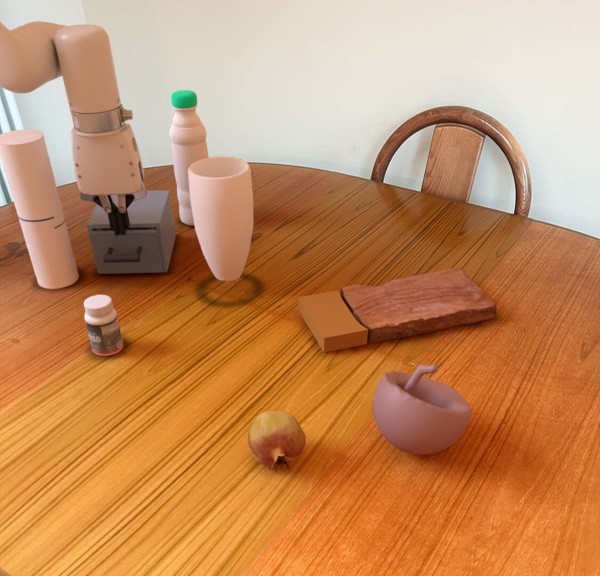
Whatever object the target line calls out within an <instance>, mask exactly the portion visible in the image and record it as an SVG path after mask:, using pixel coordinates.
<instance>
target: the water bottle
mask: <svg viewBox="0 0 600 576" xmlns="http://www.w3.org/2000/svg"><path fill="white" fill-rule="evenodd" d="M170 102H171V106H172V109H173V110H174V116H173V118H172V123H171V126H170V128H169V139H170V141H171V157H172V165H173V172H174V173H173V174H174V178H175V183H176V196H177V197H176V198H177V201H178V212H179V219H180V221H181V222H182V224H185V225H187V226H189V227H190V226H191V227H192V226H193V227H195V225H194V219H193V213H192V207H191V201H190V191H189V178H188V168H189V167H190V166H191V164H192V163H194V162H196V161H198V160H201V159H205V158H210V157H209V149H208V143H207V129H206V127H205V126H204V124H203V122H202V121H201V118H200V115H198V113H197V111H196V110H197V108H198V97H197V93H196V92H195V91H193V90H189V89H181V90H176V91H173V92H172V93H171V95H170Z"/></svg>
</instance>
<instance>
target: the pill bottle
mask: <svg viewBox="0 0 600 576" xmlns="http://www.w3.org/2000/svg"><path fill="white" fill-rule="evenodd" d="M83 307H84V311H85V312H84V317H83V319H84V323H85V326H86V331H87V335H88V339H89V343H90V346H91V350H92V352H93V353H94V354H95V355H97V356H100V357H108V356H113V355H115V354H117V353H119V352H121V350H122V349H123V347H124V341H123V336H122V333H121V327H120V322H119V318H118V317H119V316H118V313H117V310H116V309H115V308H114V303H113V300H112V298H111V296H109V295H107V294H94V295H91V296H89V297H87V298H86V299H85V300H84V301H83Z"/></svg>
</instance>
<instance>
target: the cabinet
mask: <svg viewBox="0 0 600 576" xmlns="http://www.w3.org/2000/svg"><path fill="white" fill-rule="evenodd" d="M112 198H113V201H114V204H115V205H116V206H117V207H118V195H112ZM127 211H128V216H129V221H130V228H146V227H156V230H157V236H158V242H159V249H160V255H161V262H162V268H163V270H162V272H161V273H167V272H168V269H169V265H170V261H171V258H172V253H173V249H174V245H175V242H176V237H177V236H176V230H175V221H174V215H173V214H174V213H173V206H172V200H171V193H170V190H169V189H166V190H164V189H163V190H162V189H161V190H147V196H146V198H143V199H140V200H135V201H133V202H132V203H131V205H130V206H129V207H128V208H127ZM100 228H110V223H109V218H108V214H107V213H106V212H105V211H104V209H103V208H102V207H100V206H99V205H98V204H96V205H95V207H94V208H93V211H92V213H91V215H90V217H89V219H88V221H87V223H86V229H87V233H88V236H89V241H90V242H91V239H90V235H89V233H90V231H97V229H100ZM90 246H91V249H92V250H91V251H92V254H93V255H94V252H93V248H92V244H91V243H90ZM93 259H94V263H95V264H96V261H95V257H94V256H93ZM95 267H96V272H97V273H98V270H97V266H96V265H95Z"/></svg>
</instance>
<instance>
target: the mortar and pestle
mask: <svg viewBox="0 0 600 576" xmlns="http://www.w3.org/2000/svg"><path fill="white" fill-rule="evenodd" d="M438 371H439V365H438V364H429V365H427V364H425V363H421V364H419V365H418V366H416V369H415V370H414V372H412V373H408V372H402V371H396V370H390V371H386V372H385V373H383V375H382V376H381V378H380V379H379V382H378V383H377V385H376V387H375V391H374V394H373V399H372V413H373V418H374V421H375V424H376V427H377V429H378V430H379V432H380V434H381V435H382V436H383V437H384V438H385V440H386V441H387V442H389V444H391V445H392V446H394V448H396V449H398V450H400V451H402V452H405V453H409V454H412V455H418V456H419V455H421V456H422V455H423V456H424V455H425V456H427V455H433V454H437V453H439V452H442V451H444V450H446V449H449V448H450V447H451V446H452V445H454V444H455V443H456V442H457V441H458V440H459V439H460V438H461V437H462V436H463V434H464V433H465V431H466V430H467V428H468V426H469V423H470V420H471V418H472V407H471V405H470V404H469V402H468V401H467V400H466V398H465V397H464V396H463V395H462V394H460V393H459V392H458V390H455V388H453V387H451V386H450V385H448V384H447V383H444V382H442V381H438V380H436V379H433V378H430V377H426V376H425V375H428V374H436V373H437V372H438Z"/></svg>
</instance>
